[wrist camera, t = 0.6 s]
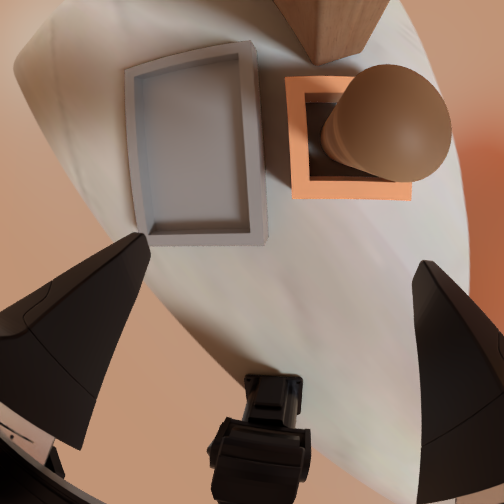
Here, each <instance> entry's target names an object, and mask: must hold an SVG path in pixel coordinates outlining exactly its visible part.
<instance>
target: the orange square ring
mask: <svg viewBox="0 0 504 504" xmlns="http://www.w3.org/2000/svg"><path fill="white" fill-rule="evenodd" d="M353 79H354V77H346V76H295V77H285V87H286V99H287V113H288V128H289V144H290V163H291V184H292V199H378V200H406V201H411V192H412V182H403V183H401V182H394V181H390V180H387V179H384V178H381V177H361V176H309V156H308V137H307V121H306V107H305V103H338V101H339V99H340V98H341V96H342V94H343V93H344V91H345V90H346V88H347V86H348V85H349V83H350V82H351V81H352V80H353Z"/></svg>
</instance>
